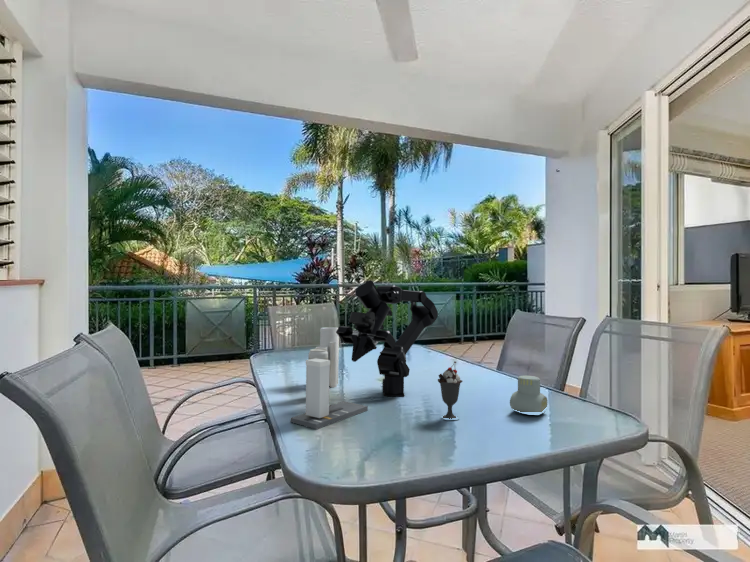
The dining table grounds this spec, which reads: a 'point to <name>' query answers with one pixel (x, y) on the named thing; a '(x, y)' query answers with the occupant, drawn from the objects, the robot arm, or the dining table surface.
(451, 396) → the sundae
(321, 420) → the console
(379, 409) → the dining table surface
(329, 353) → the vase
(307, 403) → the fader tab
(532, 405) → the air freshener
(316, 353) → the beer can
